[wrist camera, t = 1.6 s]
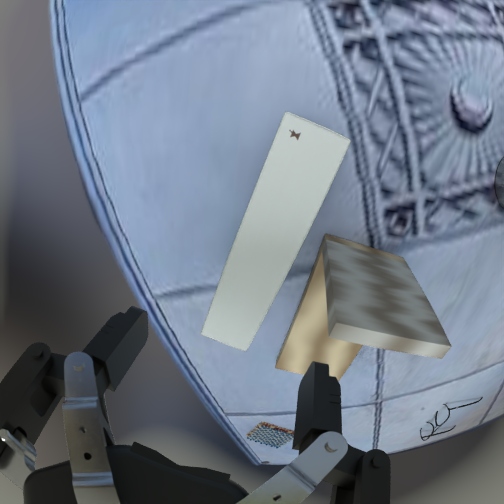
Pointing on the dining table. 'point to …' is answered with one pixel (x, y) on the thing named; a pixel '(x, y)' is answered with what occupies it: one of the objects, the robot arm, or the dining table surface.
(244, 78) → the dining table surface
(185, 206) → the dining table surface
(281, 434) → the woven mat
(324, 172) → the skincare box
